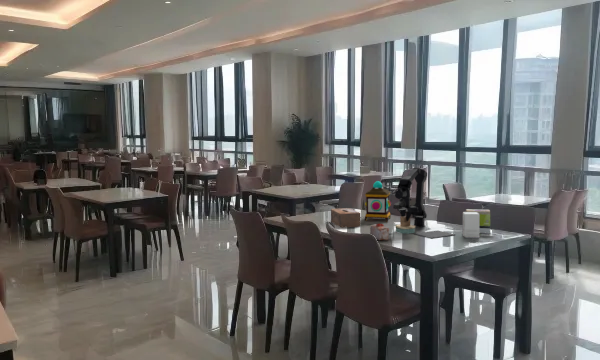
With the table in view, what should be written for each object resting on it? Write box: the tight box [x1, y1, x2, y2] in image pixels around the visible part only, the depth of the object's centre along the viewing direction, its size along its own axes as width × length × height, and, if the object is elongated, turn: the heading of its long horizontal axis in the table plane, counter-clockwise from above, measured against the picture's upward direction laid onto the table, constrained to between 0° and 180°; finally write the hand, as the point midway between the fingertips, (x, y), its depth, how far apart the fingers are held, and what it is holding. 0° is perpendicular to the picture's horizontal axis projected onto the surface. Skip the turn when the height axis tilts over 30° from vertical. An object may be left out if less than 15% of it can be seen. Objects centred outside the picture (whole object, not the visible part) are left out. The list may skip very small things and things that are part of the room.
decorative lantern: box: [364, 180, 392, 223], centre depth 370 cm, size 20×20×30 cm
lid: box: [395, 215, 416, 229], centre depth 322 cm, size 13×13×7 cm
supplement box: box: [462, 211, 480, 239], centre depth 304 cm, size 9×9×15 cm
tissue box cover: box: [330, 207, 361, 228], centre depth 355 cm, size 26×14×10 cm, turn 12°
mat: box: [413, 230, 456, 239], centre depth 311 cm, size 20×16×1 cm
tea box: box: [465, 208, 491, 235], centre depth 317 cm, size 15×10×15 cm
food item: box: [369, 223, 390, 241], centre depth 300 cm, size 14×8×10 cm, turn 23°
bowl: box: [395, 227, 416, 234], centre depth 323 cm, size 12×12×3 cm
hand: (405, 220), depth 322 cm, fingers open, 4 cm apart
